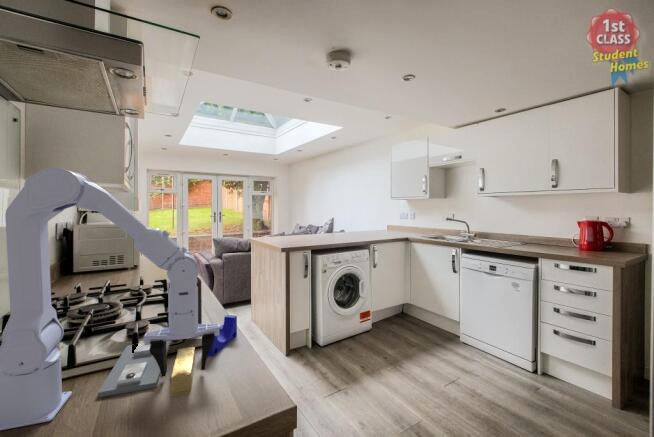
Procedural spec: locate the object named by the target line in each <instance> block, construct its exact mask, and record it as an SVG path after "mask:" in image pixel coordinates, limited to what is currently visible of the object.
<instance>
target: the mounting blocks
mask: <svg viewBox="0 0 654 437" xmlns="http://www.w3.org/2000/svg"><path fill="white" fill-rule="evenodd" d="M137 344H138V346H137V347H136V349H135V350H134V357H137V356H144V355H151V353H150V350H149V349H150V345H144V339H143V340H139V341H138V343H137ZM146 369H147V362H144V363H137V364H130V365H126V366H125V368H124V370H123V372H122V373H121V375H120V377H119V379H118V381H117V383H118V386H123V385H129V384H135V383H141V381H142V378H143V376H144V374H145V371H146Z"/></svg>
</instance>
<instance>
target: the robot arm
mask: <svg viewBox="0 0 654 437" xmlns="http://www.w3.org/2000/svg"><path fill="white" fill-rule="evenodd" d="M72 207H76V208H79V209H83V210H89V211H92V212H93V211H94V212H98V213H99V214H100V215H102V216H104V218H106V219H107V220H109V221H110V222H111V223H113V224H114V225H116V226H117V228H119V229H120V230H122V231H124V232H125V233H126V235H129V236H130V237H131V238H132V239H134V248H135V250H137V251H138V252H139V253H140V254H141V255H143V256H144V257H145V258H146V259H147V260H149V261H150V262H152V264H154V265H155V266H157V267H158V268H159V269H160V270H165V271H166V275H167V278H168V279H169V288H168V290H167V291H168V293H167V294H168V295H167V296H168V327H166V328H162V329H157V330H154V331H147V332H145V334H144V336H143V340H144V345H150V349H149V350H150V353H151V354H152V355H153V357H154V358H155V360H156V362H157V363H158V366H159V368H160V371H161V375H160V377H162V378H163V377H164V378H165V377H166V376H167V371H168V365H167V364H168V363H167V362H168V360H167V357H166V342H167V341H170V340H171V341H179V340H185V339H192V338H199V337H201V366H200V370H201V371H205V369H206V363H207V359H208V357H209V356H208V353H209V351H210V349H211V347H212V345H213V342H214V336H218V335H219V327H220V323H202V324H198V287H197V277H199V273H200V269H199V265H198V263H197V259H196V258H195V256H193V254H192V253H191V252H188V249H187V247H185V246H180V244H178V243H177V242H176V241H175V240H173V239H172V238H171V237H170V234H171V233H170V232H169V231H167V230H166V229H164V230H162V229H160V228H159V227H147V226H146V224H144V223H143V222H142V221H141V220H140V219H138V217H136V215H134V214H133V212H131V211H130V210H129V209H128V208H126V207H125V205H123V204H122V203H121V202H120V201H119V200H118V199H117V198H115V197H114V196H113V194H111V193H109V192H108V191H107V190H105V189H104V188H102V187H101V186H100V185H98V184H96V183H95V182H92V181H91V180H90V179H89V178H88V177H87V176H86V175H84V174H82V173H80V172H76V171H71V170H68V169H65V168H63V167H57V166H56V167H47V168H44V169H42V170H40V171H39V172H36V173H35V174H33V175H31V176H29V177H27V178H25V180H24V185H23V187H22V188H21V190H20V191H19V193H18V194H17V195H16V196H15V198H14V199H13V200H12V201H11V202H10V204H9V206H8V207H7V208H6V210H5V214H4V215H5V216H4V217H5V232H6V234H5V235H6V256H7V272H8V273H7V276H8V292H9V294H8V296H9V307H10V308H9V309H10V310H9V312H10V313H9V314H10V316H9V318H8V321H7V322H6V325H5V327H4V329H3V331H2V342H1V345H0V431H4V430H10V429H14V428H20V427H25V426H30V425H37V424H41V423H46V422H50V421H52V420H53V419H54V418H55V417H56V415H57V414H58V413H59V411H60V410H62V409H61V408H62V407H63V406H64V405H65V404H66V402H67V401H68V400H69V398H70V397H71V396H72V395H73V391H70V390H69V391H63V387H62V384H63V383H62V357H61V354H62V353H61V352H60V350H59V349H58V346H57V345H58V344H60V342H61V341H62V339H63V338H64V335H65V334H64V333H65V331H64V326H63V324H62V323H60V321H59V320H58V315H57V310H56V309H55V308H54V306H52V305H53V304H52V291H51V290H52V289H51V288H52V287H51V286H52V285H51V266H50V265H51V262H50V243H49V240H50V239H49V221H51V220H52V219H54V218H55V217H57V215H59V214H61V213H62V212H63V211H64V210H66V209H69V208H72Z"/></svg>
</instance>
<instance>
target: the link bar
mask: <svg viewBox="0 0 654 437" xmlns="http://www.w3.org/2000/svg"><path fill="white" fill-rule="evenodd" d="M195 348H196V347H195V346H191V347H190V346H189V347H183V348H178V350H177V353H176V358H175V361H174V365H173V369H172V372H171V376H170V383H171V384H170V394H171V395H170V396H171V397H174V396H175V397H176V396H179V395H184V394H189V393H192V386H193V379H194V373H195V366H196V365H195V364H196V363H195V362H196V349H195Z"/></svg>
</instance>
